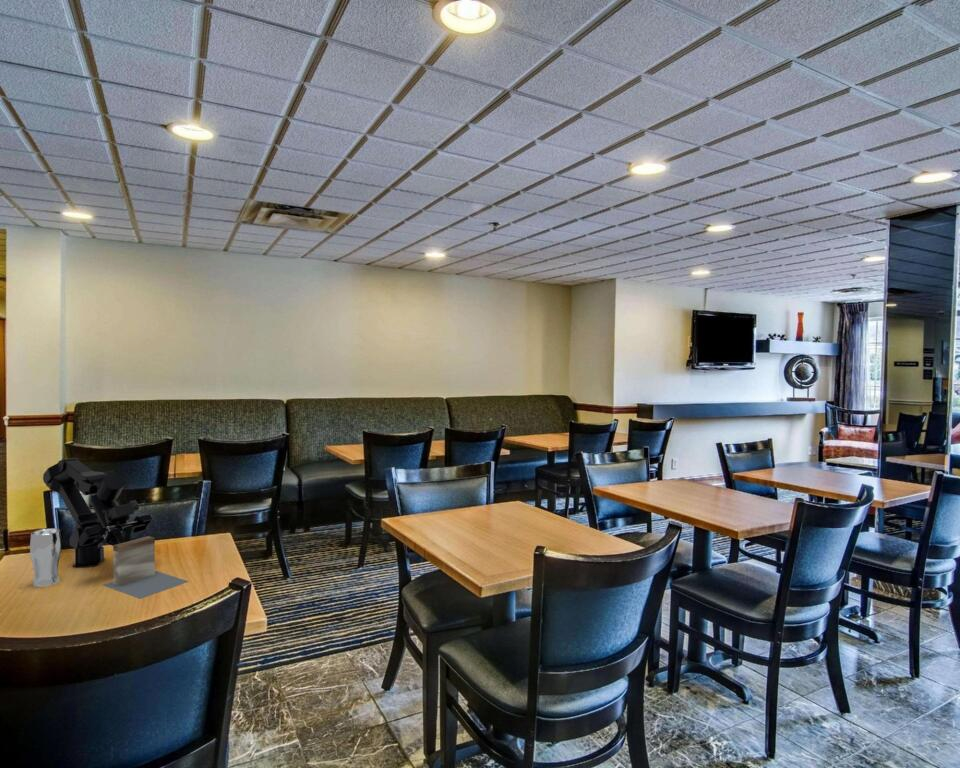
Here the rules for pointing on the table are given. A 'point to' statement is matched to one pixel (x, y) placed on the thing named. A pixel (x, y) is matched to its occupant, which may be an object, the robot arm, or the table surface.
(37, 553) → the beer glass
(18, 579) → the table surface
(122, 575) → the grey-brown flat block
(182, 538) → the table surface
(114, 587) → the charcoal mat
